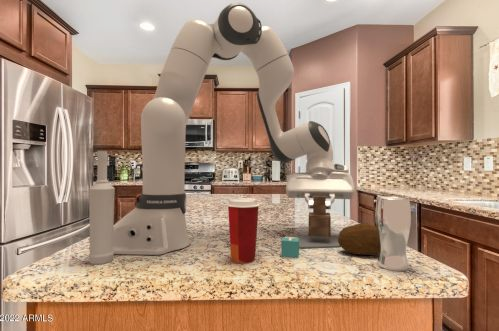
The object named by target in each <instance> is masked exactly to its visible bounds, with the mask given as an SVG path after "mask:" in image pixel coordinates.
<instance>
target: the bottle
mask: <svg viewBox="0 0 499 331" xmlns="http://www.w3.org/2000/svg"><path fill="white" fill-rule="evenodd" d="M96 152H97V158H96V159H97V172H96V174H97V176H96V178H97V180H96V181H95V183H94V184H93V185H92V186H91V187H89V189H88V190H89V193H88V195H89V196H88V199H89V200H88V201H89V204H88V205H89V207H88V210H89V211H88V212H89V254H88V261H89V264H91V265H103V264H104V265H105V264H108V263H111V262H113V260H114V257H115V254H114V251H113V227H114V225H115V224H114V223H115V222H114V219H115V190H116V188H115V187H114V186H113V185H111V183H110V181H109V180H108V151H107V150H97V151H96Z"/></svg>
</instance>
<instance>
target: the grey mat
mask: <svg viewBox="0 0 499 331" xmlns="http://www.w3.org/2000/svg"><path fill="white" fill-rule="evenodd" d="M338 236H339V235H337V234H333V235H332V234H331V237H319V236H309V235H295V236H290V235H289V236H287V237H294V238H299V250H301V249H322V248H323V249H327V248H328V249H330V248H342V247H341V246H340V245H339V243H338Z"/></svg>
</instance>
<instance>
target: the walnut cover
mask: <svg viewBox="0 0 499 331" xmlns="http://www.w3.org/2000/svg"><path fill="white" fill-rule="evenodd" d="M312 201H313V209H312V210H313V211H312V212H309V213H308V236H319V237H331V235H332V233H331V232H332V230H331V229H332V228H331V226H332V224H331V222H332V221H331V218H332V217H331V216H332V215H331V212H327V209H326V201H327V199H326V196H313V198H312Z"/></svg>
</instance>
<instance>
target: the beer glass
mask: <svg viewBox="0 0 499 331" xmlns="http://www.w3.org/2000/svg"><path fill="white" fill-rule="evenodd" d="M375 201H376V202H375V203H376V205H375V226H376V228H377V234H378V239H379V247H380V250H379V254H378V258H377V266H378V267H380V268H382V269H384V270H389V271H394V272H404V271H407V270H409V263H408V258H407V257H408V256H407V246H408V242H409V236H410V231H411V224H412V220H411V219H412V214H411V213H412V212H411V202H410V201H411V198H408V197H405V196H403V197H401V196H386V195H385V196H376V200H375Z"/></svg>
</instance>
